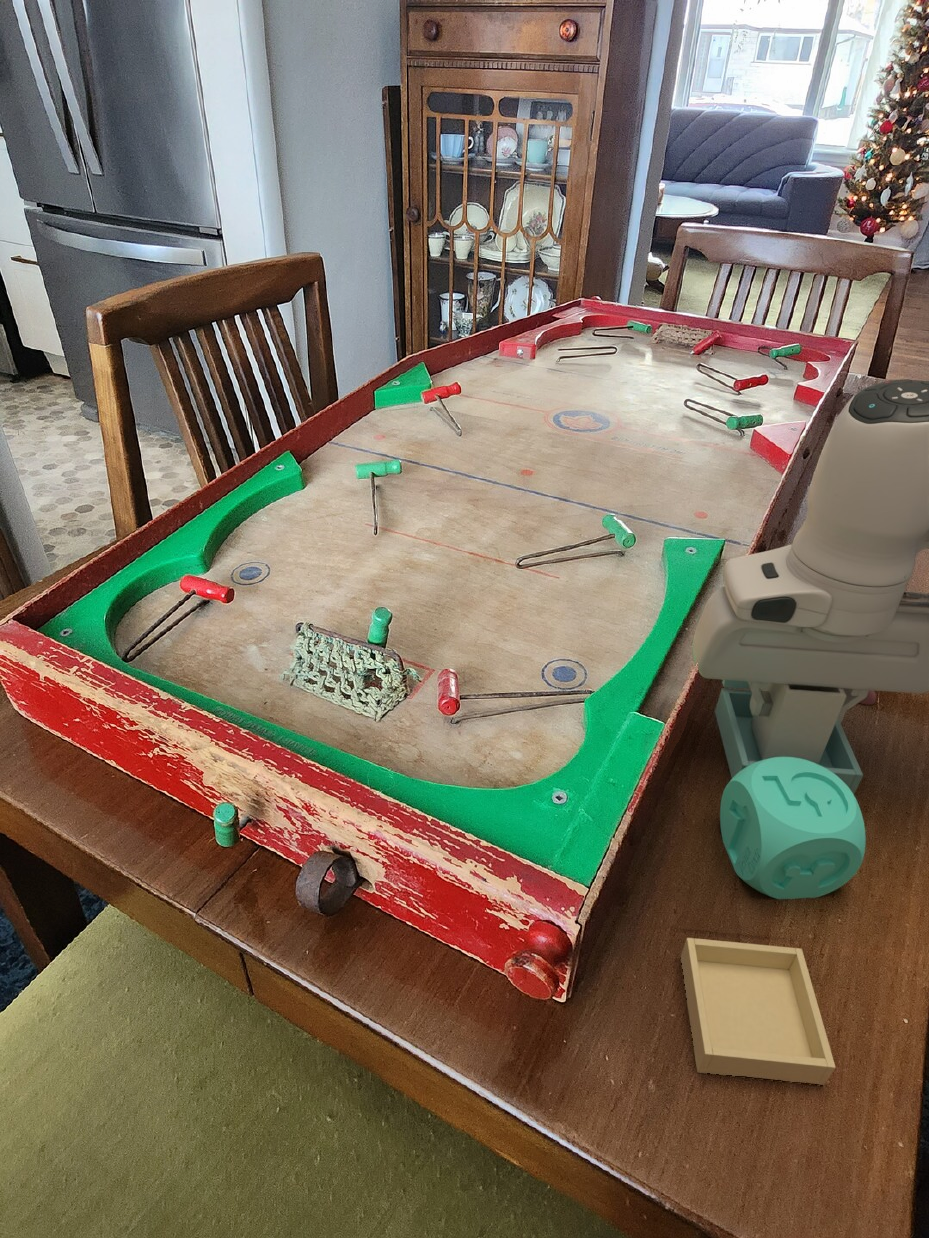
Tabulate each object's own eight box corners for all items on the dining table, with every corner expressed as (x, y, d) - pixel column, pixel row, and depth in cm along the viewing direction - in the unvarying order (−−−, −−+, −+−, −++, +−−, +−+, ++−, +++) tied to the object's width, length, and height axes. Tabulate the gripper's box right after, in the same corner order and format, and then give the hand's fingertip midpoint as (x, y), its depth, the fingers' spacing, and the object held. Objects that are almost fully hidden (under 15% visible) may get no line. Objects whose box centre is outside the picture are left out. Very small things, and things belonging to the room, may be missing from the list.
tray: (792, 967, 56) (802, 948, 55) (824, 1086, 50) (836, 1067, 48) (680, 956, 56) (686, 937, 55) (696, 1072, 50) (705, 1053, 49)
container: (803, 728, 75) (829, 659, 70) (817, 766, 71) (846, 696, 66) (750, 724, 75) (772, 655, 70) (761, 762, 71) (786, 691, 66)
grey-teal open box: (850, 803, 69) (863, 775, 67) (733, 793, 69) (742, 764, 67) (817, 723, 77) (828, 696, 75) (713, 715, 78) (721, 687, 76)
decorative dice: (711, 822, 67) (733, 756, 62) (801, 818, 67) (830, 753, 63) (745, 904, 60) (772, 838, 55) (845, 899, 61) (880, 833, 56)
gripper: (956, 574, 65) (898, 699, 73) (706, 559, 66) (677, 683, 74) (991, 618, 60) (925, 748, 68) (720, 601, 61) (686, 730, 69)
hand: (793, 714), depth 71 cm, fingers closed on container, 5 cm apart
